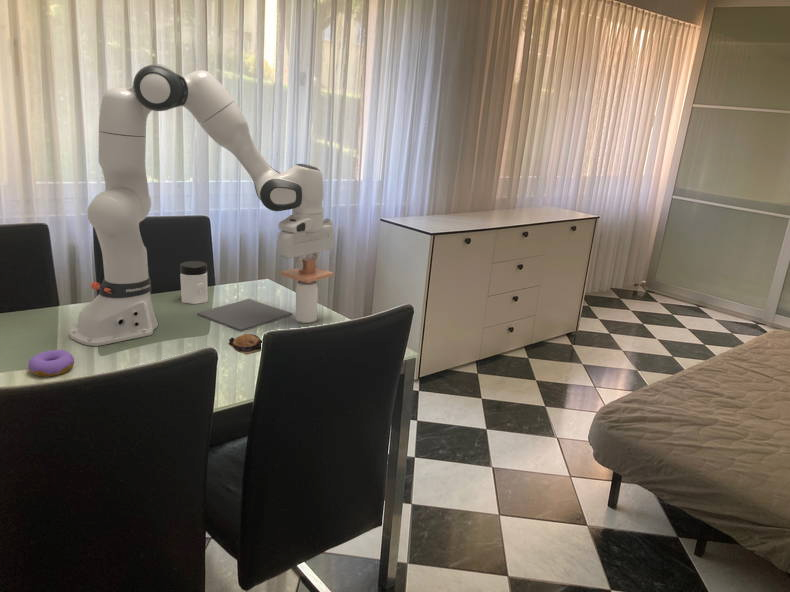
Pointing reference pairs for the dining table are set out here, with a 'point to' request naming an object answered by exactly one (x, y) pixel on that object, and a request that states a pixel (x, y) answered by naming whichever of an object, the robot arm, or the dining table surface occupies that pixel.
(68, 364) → the donut
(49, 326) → the dining table surface
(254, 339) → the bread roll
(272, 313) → the mat
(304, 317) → the can
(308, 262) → the lid
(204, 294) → the jar
